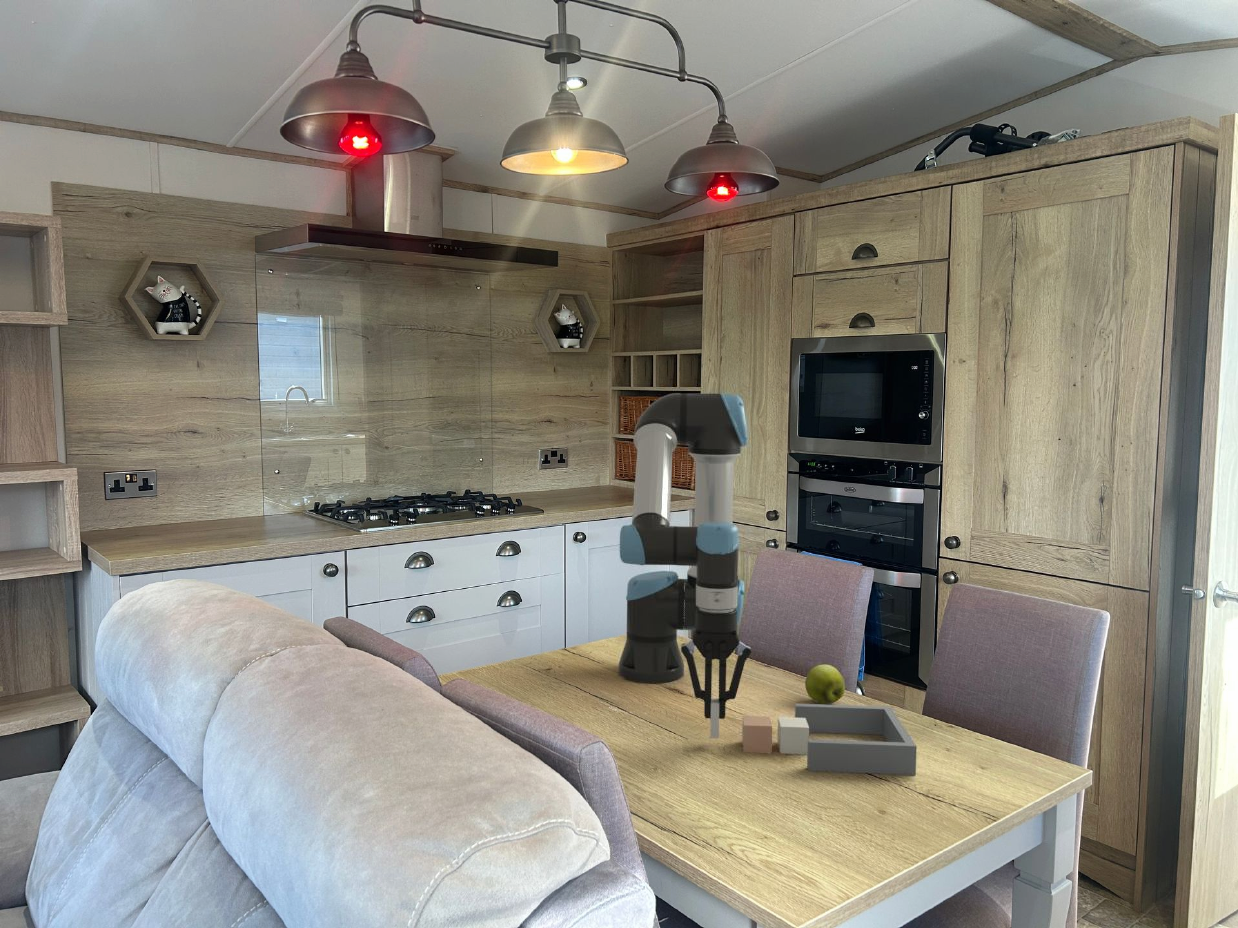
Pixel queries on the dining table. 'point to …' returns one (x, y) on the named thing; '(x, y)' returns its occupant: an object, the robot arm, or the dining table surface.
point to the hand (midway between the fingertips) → (714, 735)
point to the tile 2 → (793, 735)
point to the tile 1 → (757, 734)
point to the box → (858, 754)
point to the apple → (825, 684)
